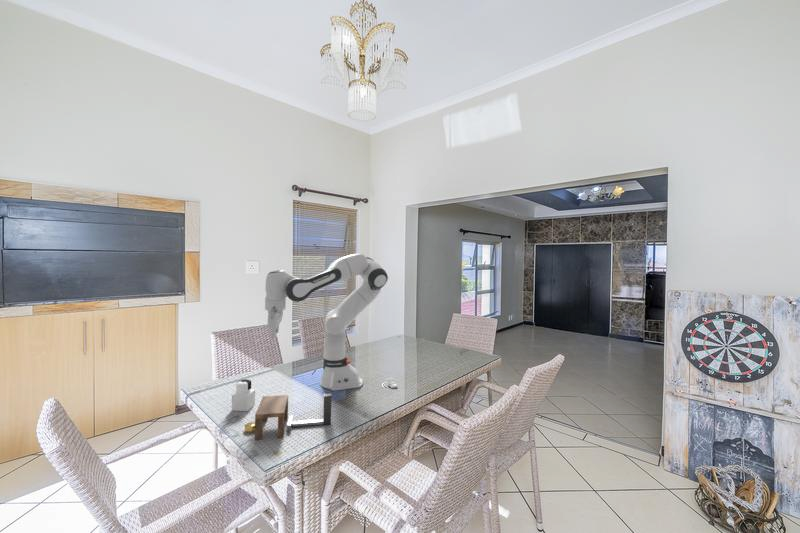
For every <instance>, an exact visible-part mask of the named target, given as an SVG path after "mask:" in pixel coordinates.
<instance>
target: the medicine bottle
mask: <svg viewBox="0 0 800 533" xmlns="http://www.w3.org/2000/svg"><path fill="white" fill-rule="evenodd" d="M235 383H236V384H235V385H236V386H235V387H236V389H235V390H236V391H235V392H234V393H232V395H231V411H233V412H249V410H250V409H251V408H253V407H254V406H255V404H256V389H255V388H252V380H250V379H247V378H246V379H241V380H238V381H237V382H235Z"/></svg>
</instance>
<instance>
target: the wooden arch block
mask: <svg viewBox="0 0 800 533" xmlns="http://www.w3.org/2000/svg"><path fill="white" fill-rule="evenodd" d="M273 418H277V439H281V438H282V439H283V438H284V437H285V420H287V421H288V419H289V394H285V395H283V394H281V395H280V394H279V395H266V396H264V395H263V396H262V397H261V400H260V403H259V406H258V407H257V410H256V412H255V416H254V422H255V432H254V440H255V441H259V440H261V439H262V437H263V436H262V432H263V431H262V429H263V422H268V419H273Z"/></svg>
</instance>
